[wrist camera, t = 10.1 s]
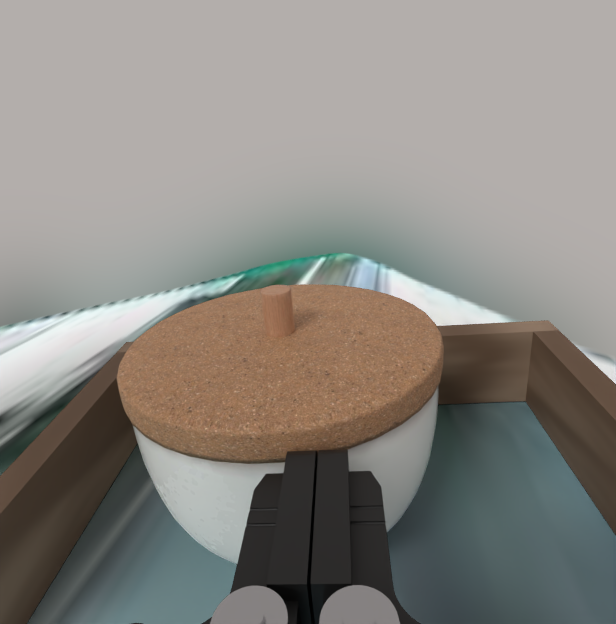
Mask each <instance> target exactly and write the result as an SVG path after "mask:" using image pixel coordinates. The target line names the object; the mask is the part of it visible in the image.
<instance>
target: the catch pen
mask: <svg viewBox="0 0 616 624" xmlns="http://www.w3.org/2000/svg"><path fill="white" fill-rule="evenodd" d="M437 328H438V329H439V331H440V333H441V335H442V340H443V346H444V357H443V368H442V374H441V379H440V383H439V392H438V404H461V403H487V402H514V401H526V403H527V404H528V406H529V407H530V409H531V410H532V411H533V413H534V414H535V416H536V417H537V419H538V420H539V422H540V423H541V425H542V426H543V428H544V429H545V431H546V432H547V434H548V435H549V437H550V438H551V440H552V441H553V443H554V444H555V446H556V447H557V449H558V450H559V452H560V453H561V455H562V456H563V458H564V459H565V461H566V462H567V464H568V465H569V466H570V468H571V469H572V471H573V472H574V474H575V475H576V477H577V478H578V480H579V481H580V483H581V484H582V486H583V487H584V489H585V490H586V492H587V493H588V495H589V496H590V498H591V499H592V501H593V502H594V504H595V505H596V507H597V508H598V510H599V511H600V513H601V514H602V516H603V517H604V519H605V520H606V521H607V523H608V524H609V526H610V527H611V529H612V530H613V532H614V533H615V535H616V384H615V383H614V382H613V381H612V380H611V379H610V378H608V377H607V376H606V375H605V374H604V373H603V372H602V371H601V370H600V369H599V368H598V367H597V366H596V365H595V364H594V363H593V362H592V361H591V360H589V359H588V358H587V357H586V356H585V355H584V354H583V353H582V352H581V351H580V350H579V349H578V348H577V347H576V346H575V345H574V344H573V343H572V342H570V341H569V340H568V339H567V338H566V337H565V336H564V335H563V334H562V333H561V332H560V331H559V330H558V329H557V328H556V327H554V325H553V324H551V323H550V322H549V321H529V322H509V323H489V324H470V325H450V326H437ZM133 343H134V342H126V343H125V344H124V345H123V346H122V347H121V348H120V349H119V351H118V352H117V353H116V354H115V355H114V356H113V357H112V358H111V359H110V360H109V361H108V362H107V363H106V364H105V365H104V366H103V368H102V369H101V370H100V371H99V372H98V373H97V374H96V375H95V376H94V377H93V378H92V379H91V380H90V381H89V382H88V383H87V384H86V386H85V387H84V388H83V389H82V390H81V391H80V392H79V393H78V394H77V395H76V396H75V397H74V398H73V399H72V400H71V401H70V403H69V404H68V405H67V406H66V407H65V408H64V409H63V410H62V411H61V412H60V413H59V414H58V415H57V416H56V417H55V418H54V420H53V421H52V422H51V423H50V424H49V425H48V426H47V427H46V428H45V429H44V430H43V431H42V432H41V433H40V434H39V435H38V437H37V438H36V439H35V440H34V441H33V442H32V443H31V444H30V445H29V446H28V447H27V448H26V449H25V450H24V451H23V452H22V454H21V455H20V456H19V457H18V458H17V459H16V460H15V461H14V462H13V463H12V464H11V465H10V466H9V467H8V468H7V469H6V471H5V472H4V473H3V474H2V475H1V476H0V624H27V622H28V620H29V619H30V617H31V616H32V614H33V612H34V611H35V609H36V607H37V606H38V604H39V603H40V601H41V599H42V598H43V596H44V594H45V593H46V591H47V589H48V588H49V586H50V585H51V583H52V581H53V580H54V578H55V576H56V575H57V573H58V572H59V570H60V568H61V567H62V565H63V563H64V562H65V560H66V559H67V557H68V555H69V554H70V552H71V550H72V549H73V547H74V545H75V544H76V542H77V541H78V539H79V537H80V536H81V534H82V532H83V531H84V529H85V528H86V526H87V524H88V523H89V521H90V519H91V518H92V516H93V515H94V513H95V511H96V510H97V508H98V506H99V505H100V503H101V502H102V500H103V498H104V497H105V495H106V493H107V492H108V490H109V488H110V487H111V485H112V484H113V482H114V480H115V479H116V477H117V475H118V474H119V472H120V471H121V469H122V467H123V466H124V464H125V462H126V461H127V459H128V458H129V456H130V454H131V453H132V451H133V449H134V448H135V446H136V445H137V439H136V436H135V432H134V428H133V425H132V423H131V421H130V419H129V418H128V416H127V414H126V412H125V410H124V407H123V404H122V401H121V397H120V393H119V389H118V383H117V374H118V369H119V365H120V362H121V360H122V359H123V357H124V355H125V353H126V352H127V350H128V349H129V348H130V346H131V345H132V344H133Z"/></svg>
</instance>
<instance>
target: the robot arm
mask: <svg viewBox="0 0 616 624" xmlns="http://www.w3.org/2000/svg"><path fill="white" fill-rule="evenodd" d="M133 624H142V623H133ZM202 624H421V623H419V622H417V621H416V620H415V619H413V618H412V617H411V616H410V615H409V614H408V613H407V612H406V611H405V610H404V609H403V608H402V606H401V605H400V603H399V601H398V600H397V598H396V595H395V592H394V588H393V582H392V573H391V565H390V556H389V548H388V539H387V531H386V524H385V514H384V506H383V497H382V489H381V486H380V484H379V483H378V481H377V480H376V478H375V477H374V475H373V474H372V472H371V471H349V460H348V449H344V450H319V451H318V456H317V451H316V450H315V451H287V454H286V459H285V466H284V472H283V473H273V474H265V476H264V477H263V478H262V480H261V481H260V482H259V484H258V485H257V486H256V488H255V489H254V492H253V496H252V501H251V505H250V512H249V514H248V518H247V523H246V527H245V532H244V536H243V541H242V545H241V550H240V554H239V558H238V563H237V567H236V572H235V576H234V581H233V585H232V589H231V592H230V594H229V595H228V596H227V597H226V598H225V599H224V600H223V601H222V602H221V603H220V604H219V605H218V607H217V608H216V610H215V612H214V614H213V616H212V617H211V618H210V619H208V620H207V621H206V622H204V623H202Z"/></svg>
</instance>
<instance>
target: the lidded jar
mask: <svg viewBox="0 0 616 624" xmlns="http://www.w3.org/2000/svg"><path fill="white" fill-rule="evenodd" d="M443 357H444V346H443V340H442V335H441V333H440V331H439V329H438V328H437V326H436V324H435V323H434V322H433V321H432V320H431V319H430V317H429V316H428V315H427V314H426V313H425V312H423V311H422V310H420V309H419V308H417V307H416V306H414V305H412V304H410V303H408V302H406V301H404V300H402V299H400V298H397V297H394V296H391V295H388V294H385V293H381V292H377V291H373V290H368V289H362V288H355V287H347V286H338V285H290V286H286V285H273V286H268V287H265V288H261V289H256V290H250V291H245V292H240V293H235V294H231V295H226V296H223V297H220V298H216V299H213V300H210V301H207V302H204V303H201V304H198V305H195V306H192V307H190V308H188V309H185V310H183V311H181V312H178V313H176V314H174V315H172V316H170V317H168V318H166V319H164V320H163V321H161V322H159V323H158V324H156V325H155V326H153V327H152V328H150V329H149V330H147V331H146V332H145V333H144V334H142V335H141V336H140V337H139V338H138V339H136V340H135V342H134V343H133V344H132V345H131V346H130V348H129V349H128V350H127V352H126V353H125V355H124V357H123V359H122V360H121V362H120V365H119V369H118V374H117V383H118V389H119V393H120V397H121V401H122V404H123V407H124V410H125V412H126V414H127V416H128V418H129V419H130V421H131V423H132V425H133V428H134V432H135V436H136V439H137V443H138V446H139V449H140V452H141V455H142V458H143V461H144V464H145V466H146V468H147V470H148V473H149V475H150V477H151V479H152V481H153V483H154V486H155V487H156V489H157V491H158V493H159V495H160V497H161V499H162V500H163V502H164V503H165V505H166V506H167V508H168V510H169V511H170V513H171V514H172V516H173V517H174V519H175V520H176V521H177V522H178V523H179V524H180V525H181V526H182V527H183V529H184V530H185V531H186V532H187V533H188V534H189V535H190V536H191V537H192V538H194V539H195V540H196V541H197V542H198V543H199V544H201V545H202V546H203V547H205V548H206V549H208V550H209V551H210V552H212V553H214V554H216V555H217V556H219V557H221V558H223V559H225V560H228V561H230V562H232V563H234V564H236V565H237V563H238V558H239V554H240V550H241V545H242V541H243V536H244V532H245V527H246V523H247V518H248V514H249V512H250V505H251V501H252V496H253V492H254V489H255V488H256V486H257V485H258V484H259V482H260V481H261V480H262V478H263V477H264V476H265V474H273V473H283V472H284V466H285V459H286V454H287V451H315V450H316V451H317V456H318V451H319V450H344V449H348V460H349V471H371V472H372V474H373V475H374V477H375V478H376V480H377V481H378V483H379V484H380V486H381V489H382V497H383V506H384V514H385V524H386V531H387V532H388V531H389V530H390V529H391V528H392V527H393V526H394V525H395V524H396V523H397V522H398V521H399V520H400V518H401V517H402V515H403V514H404V513H405V511H406V510H407V508H408V507H409V505H410V503H411V502H412V500H413V498H414V497H415V495H416V493H417V491H418V489H419V486H420V484H421V482H422V480H423V477H424V474H425V471H426V468H427V465H428V462H429V459H430V454H431V449H432V443H433V438H434V433H435V427H436V421H437V409H438V392H439V383H440V379H441V374H442V368H443Z"/></svg>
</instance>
